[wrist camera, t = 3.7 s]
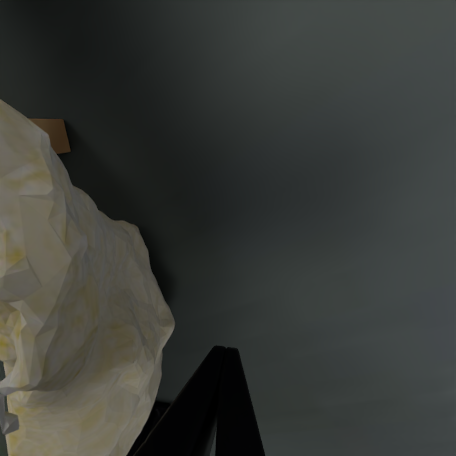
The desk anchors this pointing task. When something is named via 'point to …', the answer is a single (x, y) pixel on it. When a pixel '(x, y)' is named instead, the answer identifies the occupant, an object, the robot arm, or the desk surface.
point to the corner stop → (54, 133)
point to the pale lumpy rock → (71, 310)
